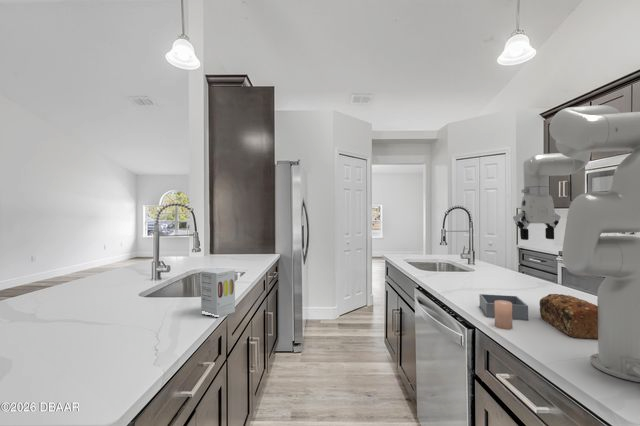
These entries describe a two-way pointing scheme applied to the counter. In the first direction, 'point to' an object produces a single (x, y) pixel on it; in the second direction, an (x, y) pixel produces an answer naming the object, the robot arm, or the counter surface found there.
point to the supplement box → (218, 291)
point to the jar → (503, 314)
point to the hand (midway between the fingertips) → (537, 239)
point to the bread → (570, 315)
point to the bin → (517, 304)
